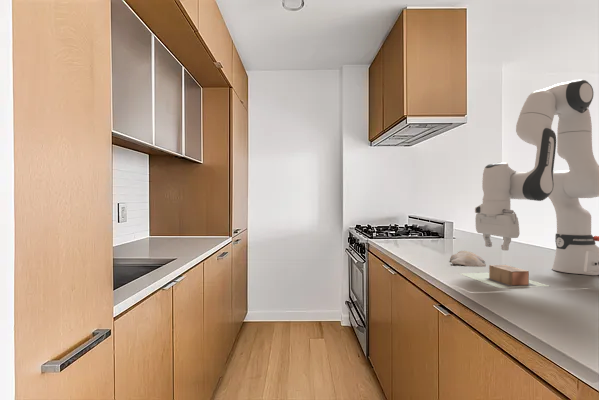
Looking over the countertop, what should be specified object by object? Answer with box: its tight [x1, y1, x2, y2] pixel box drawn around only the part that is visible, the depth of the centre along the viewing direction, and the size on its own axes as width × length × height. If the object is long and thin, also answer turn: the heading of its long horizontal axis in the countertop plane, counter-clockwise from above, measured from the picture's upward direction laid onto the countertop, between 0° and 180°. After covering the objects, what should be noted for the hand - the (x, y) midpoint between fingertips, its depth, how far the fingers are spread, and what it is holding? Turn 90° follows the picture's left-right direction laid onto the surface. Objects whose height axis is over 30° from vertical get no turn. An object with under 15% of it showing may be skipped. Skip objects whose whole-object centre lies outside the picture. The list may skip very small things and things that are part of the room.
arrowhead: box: [449, 250, 487, 268], centre depth 185 cm, size 14×5×30 cm
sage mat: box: [458, 272, 550, 289], centre depth 142 cm, size 18×24×1 cm
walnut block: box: [488, 264, 530, 286], centre depth 138 cm, size 6×4×12 cm
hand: (496, 248), depth 145 cm, fingers open, 8 cm apart
